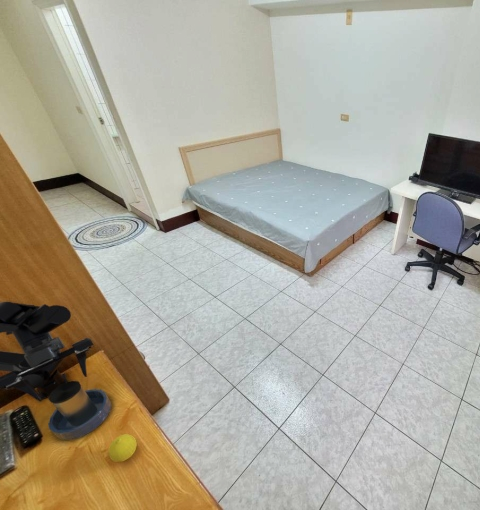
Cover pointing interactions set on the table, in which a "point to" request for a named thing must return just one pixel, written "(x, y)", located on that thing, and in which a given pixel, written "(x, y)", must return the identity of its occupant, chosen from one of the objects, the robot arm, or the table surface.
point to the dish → (72, 432)
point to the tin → (73, 403)
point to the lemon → (122, 447)
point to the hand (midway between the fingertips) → (64, 388)
